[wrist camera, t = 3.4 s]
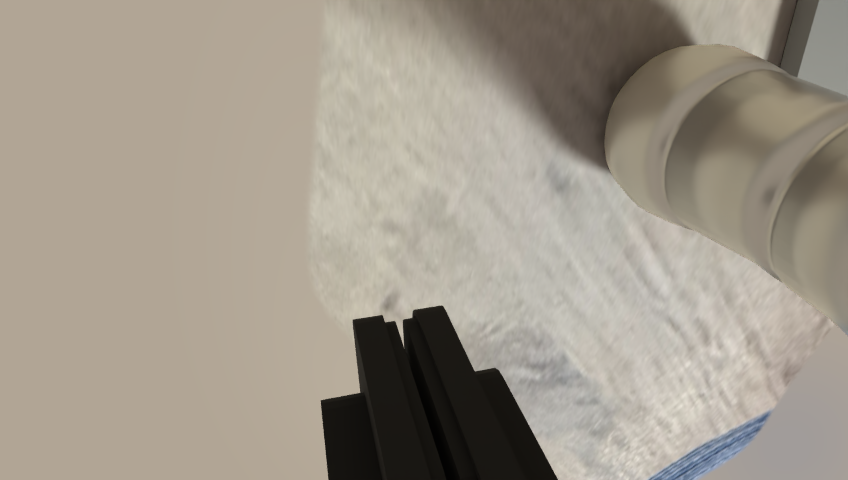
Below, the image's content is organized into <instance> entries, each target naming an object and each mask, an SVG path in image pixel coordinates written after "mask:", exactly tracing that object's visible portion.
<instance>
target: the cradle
mask: <svg viewBox="0 0 848 480" xmlns="http://www.w3.org/2000/svg"><path fill="white" fill-rule="evenodd" d="M780 68H781V69H782V70H784V71H786V72H787V73H788V74H789V75H792V76H794V77H797V78H800V79H802V80H805V81H808V82H811V83H813V84H816V85H819V86H821V87H824V88H827V89H830V90H832V91H835V92H838V93H840V94H843V95H846V96H848V0H798V1H797V5H796V9H795V12H794V16H793V20H792V24H791V27H790V31H789V35H788V39H787V42H786V46H785V50H784V54H783V57H782V61H781V65H780Z"/></svg>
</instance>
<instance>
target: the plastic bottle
mask: <svg viewBox="0 0 848 480" xmlns="http://www.w3.org/2000/svg"><path fill="white" fill-rule="evenodd" d="M604 146H605V156H606V161H607V164H608V167H609V170H610V172H611V174H612V175H613V177H614V179H615V180H616V182H617V183H618V184H619V185H620V187H621V188H622V189H623V190H624V191H625V193H626V194H627V195H628V196H629V197H630V198H631V199H632V200H633V201H634V202H635V203H636V204H637V205H638V206H639V207H640V208H642V209H644V210H645V211H647V212H649V213H651V214H653V215H655V216H657V217H659V218H661V219H663V220H666V221H668V222H670V223H672V224H675V225H678V226H681V227H684V228H687V229H691V230H694V231H696V232H698V233H700V234H702V235H704V236H706V237H707V238H709V239H711V240H713V241H715V242H717V243H719V244H721V245H722V246H724V247H726V248H728V249H730V250H732V251H734V252H735V253H737V254H739V255H741V256H743V257H745V258H747V259H748V260H750V261H752V262H754V263H755V264H757V265H758V266H759V267H761V268H762V269H763V270H765V271H766V272H767V273H769V274H770V275H771V276H773V277H774V278H776V279H777V280H779V281H781V282H782V283H784V284H785V285H786V287H787V288H789V289H790V290H791V291H793V292H794V293H795V294H797V295H798V296H799V297H801V298H802V299H803V300H805V301H806V302H807V303H809V304H810V305H811V306H813V307H814V308H815V309H817V310H818V311H819V312H821V313H822V314H823V315H825V316H826V317H827V318H829V319H830V320H831V321H832V322H833V323H834V324H835V325H836V326H838V327H839V328H840V329H841V330H842V331H843V332H844V333H845V334H847V335H848V96H846V95H843V94H840V93H838V92H835V91H832V90H830V89H827V88H824V87H821V86H819V85H816V84H813V83H811V82H808V81H805V80H802V79H800V78H797V77H794V76H792V75H789V74H788V73H787V72H786V71H784V70H782V69H781V68H779V67H777V66H776V65H774V64H772V63H770V62H768V61H766V60H764V59H761V58H759V57H757V56H755V55H752V54H750V53H748V52H745V51H743V50H741V49H739V48H736V47H733V46H727V45H720V44H715V45H691V46H681V47H677V48H674V49H671V50H668V51H665V52H663V53H661V54H659V55H657V56H656V57H654V58H652V59H650V60H649V61H648V62H647V63H645V64H644V65H643V66H642V67H641V68H639V69H638V70H637V71H636V72H635V73H634V74H633V75H632V77H631V78H630V79H629V80H628V81H627V82H626V83H625V84H624V85H623V87H622V89H621V90H620V92H619V93H618V95H617V96H616V98H615V100H614V102H613V105H612V107H611V109H610V112H609V116H608V120H607V123H606V130H605V141H604Z"/></svg>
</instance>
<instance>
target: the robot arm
mask: <svg viewBox="0 0 848 480" xmlns="http://www.w3.org/2000/svg"><path fill="white" fill-rule="evenodd" d="M353 330H354V339H355V348H356V356H357V366H358V374H359V383H360V393H358V394H352V395H347V396H341V397H336V398H331V399H325V400H321V408H322V419H323V429H324V439H325V448H326V459H327V468H328V479H329V480H558V479H557V477H556V475H555V473H554V471H553V470H552V468H551V466H550V464H549V462H548V460H547V458H546V457H545V455H544V453H543V451H542V449H541V447H540V445H539V443H538V442H537V440H536V438H535V436H534V434H533V432H532V430H531V429H530V427H529V425H528V423H527V421H526V419H525V417H524V415H523V414H522V412H521V410H520V408H519V406H518V404H517V402H516V401H515V399H514V397H513V395H512V393H511V391H510V389H509V387H508V386H507V384H506V382H505V380H504V378H503V376H502V375H501V373H500V372H499V370H497V369H496V368H492V369H487V370H481V371H476V372H475V371H474V369H473V367H472V365H471V363H470V361H469V359H468V357H467V355H466V352H465V350H464V348H463V346H462V344H461V342H460V340H459V338H458V336H457V333H456V331H455V329H454V327H453V325H452V323H451V321H450V319H449V317H448V315H447V312H446V310H445V308H444V307H443V306H436V307H429V308H423V309H417V310H414V311H413V318H410V319H404V320H403V333H404V347H403V344H402V340H401V337H400V334H399V331H398V328H397V325H396V322H395V321H392V322H386V323H385V321H384V318H383V316H382V315H380V316H373V317H367V318H361V319H355V320H353Z"/></svg>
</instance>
